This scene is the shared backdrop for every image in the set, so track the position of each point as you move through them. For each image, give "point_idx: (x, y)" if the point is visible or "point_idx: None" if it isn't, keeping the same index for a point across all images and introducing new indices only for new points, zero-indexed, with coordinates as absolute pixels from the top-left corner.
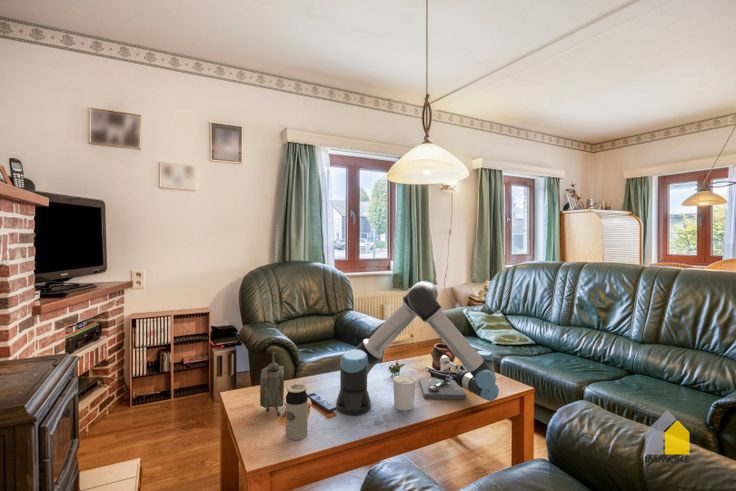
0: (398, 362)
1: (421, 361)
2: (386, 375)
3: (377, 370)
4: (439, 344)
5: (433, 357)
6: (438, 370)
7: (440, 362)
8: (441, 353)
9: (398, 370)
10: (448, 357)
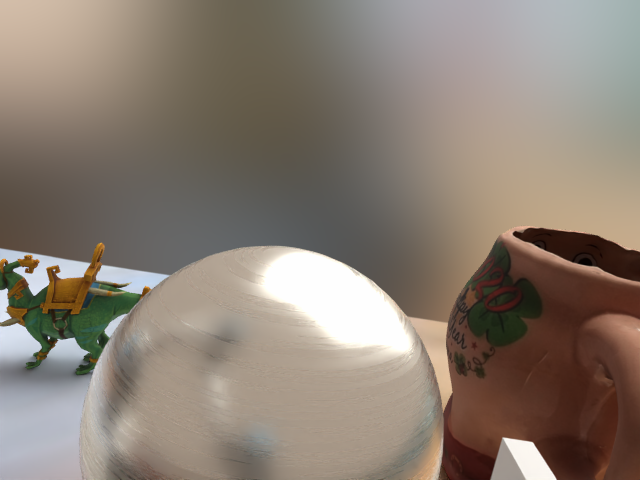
0: (92, 261)
1: (435, 347)
2: (32, 336)
3: None
4: (585, 250)
5: (447, 330)
6: (462, 476)
7: (494, 407)
8: (534, 309)
9: (76, 327)
10: (399, 366)
